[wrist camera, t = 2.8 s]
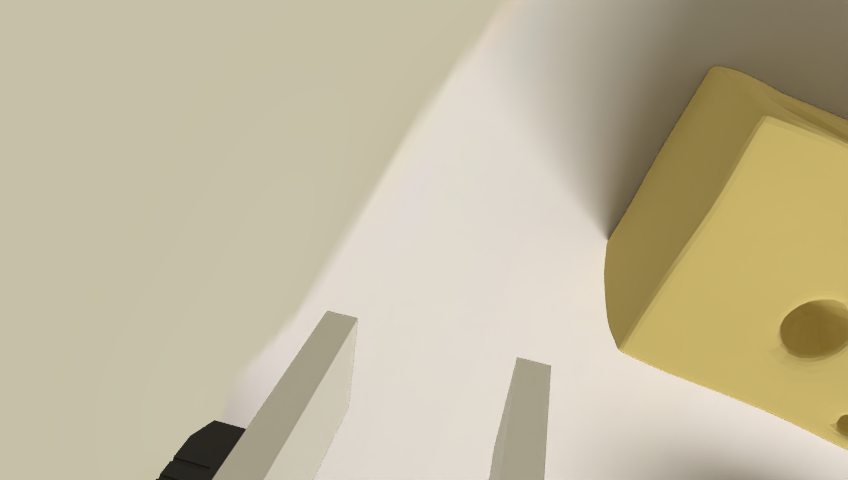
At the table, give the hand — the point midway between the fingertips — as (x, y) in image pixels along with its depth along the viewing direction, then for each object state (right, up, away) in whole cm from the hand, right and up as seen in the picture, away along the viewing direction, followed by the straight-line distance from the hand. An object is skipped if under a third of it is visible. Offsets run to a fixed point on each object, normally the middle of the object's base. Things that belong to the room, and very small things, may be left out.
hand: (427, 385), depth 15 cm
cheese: (+15, +5, +15) cm, 22 cm away
